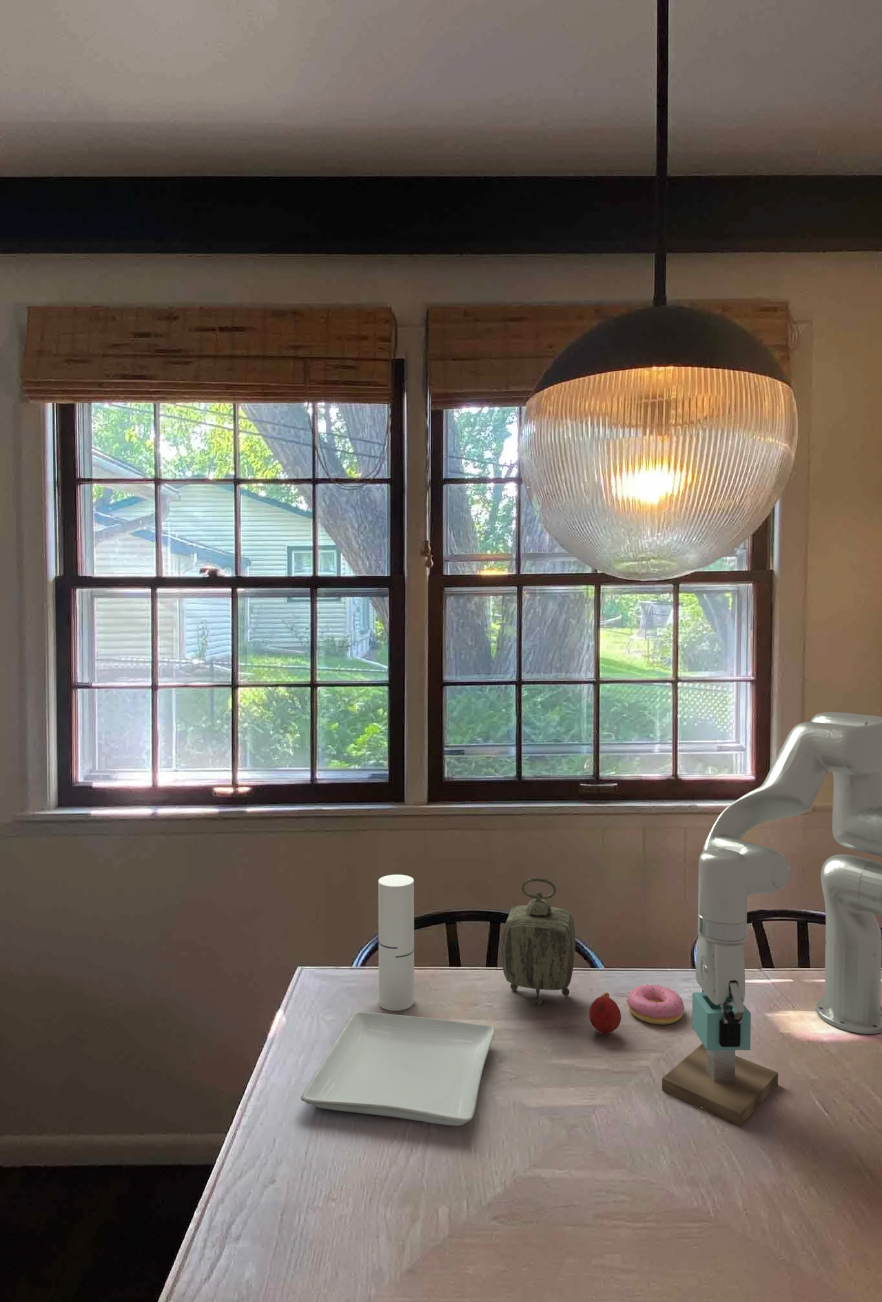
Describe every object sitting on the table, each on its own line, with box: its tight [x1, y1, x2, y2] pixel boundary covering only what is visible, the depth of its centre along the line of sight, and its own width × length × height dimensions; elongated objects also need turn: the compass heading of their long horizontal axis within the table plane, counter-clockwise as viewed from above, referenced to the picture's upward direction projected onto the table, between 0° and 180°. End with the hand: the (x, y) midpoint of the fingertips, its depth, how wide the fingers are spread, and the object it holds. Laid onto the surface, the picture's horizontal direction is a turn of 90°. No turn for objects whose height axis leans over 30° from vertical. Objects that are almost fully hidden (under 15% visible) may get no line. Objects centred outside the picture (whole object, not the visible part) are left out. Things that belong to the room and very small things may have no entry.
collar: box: [691, 991, 752, 1051], centre depth 125 cm, size 7×7×6 cm
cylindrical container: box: [378, 874, 415, 1012], centre depth 154 cm, size 7×7×25 cm
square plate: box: [300, 1011, 496, 1127], centre depth 129 cm, size 27×27×4 cm
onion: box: [588, 991, 622, 1036], centre depth 141 cm, size 6×6×8 cm
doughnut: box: [626, 983, 685, 1026], centre depth 150 cm, size 11×11×4 cm
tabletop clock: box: [500, 877, 577, 1006], centre depth 155 cm, size 14×9×25 cm, turn 77°
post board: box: [661, 1042, 779, 1127], centre depth 125 cm, size 15×13×8 cm
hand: (720, 1032), depth 125 cm, fingers closed on collar, 7 cm apart
